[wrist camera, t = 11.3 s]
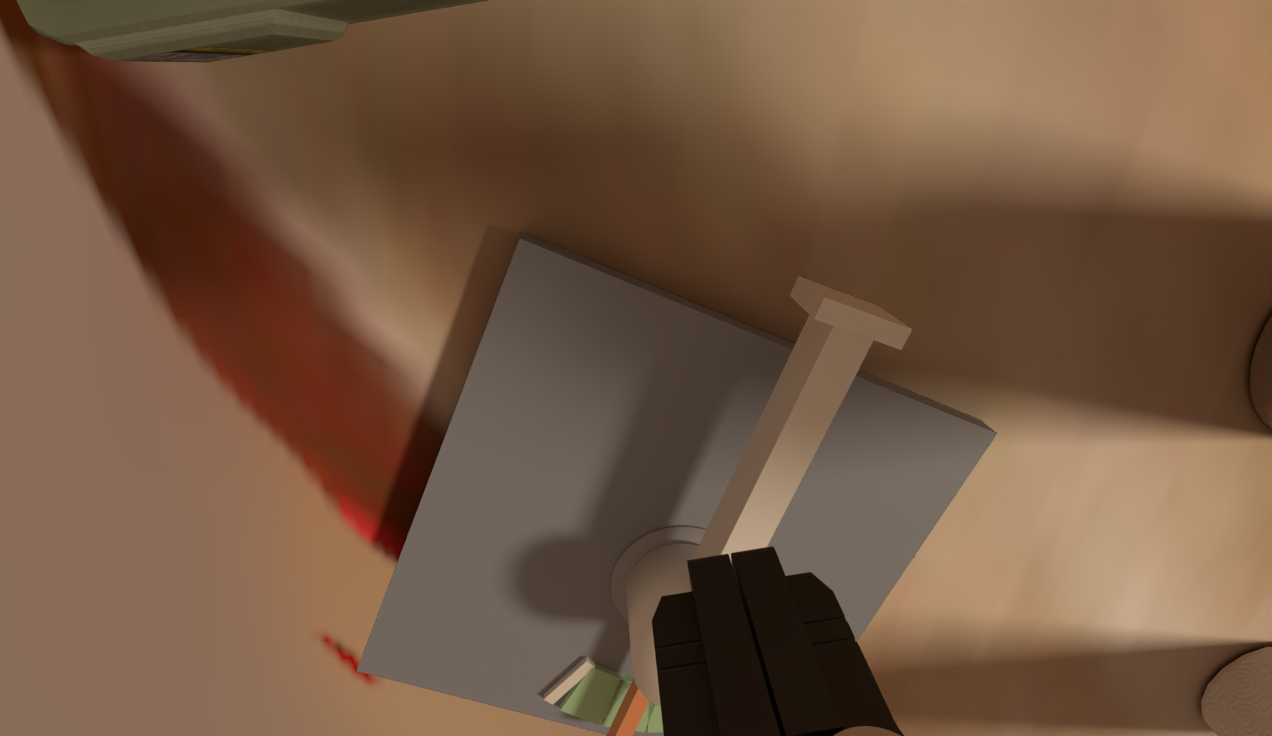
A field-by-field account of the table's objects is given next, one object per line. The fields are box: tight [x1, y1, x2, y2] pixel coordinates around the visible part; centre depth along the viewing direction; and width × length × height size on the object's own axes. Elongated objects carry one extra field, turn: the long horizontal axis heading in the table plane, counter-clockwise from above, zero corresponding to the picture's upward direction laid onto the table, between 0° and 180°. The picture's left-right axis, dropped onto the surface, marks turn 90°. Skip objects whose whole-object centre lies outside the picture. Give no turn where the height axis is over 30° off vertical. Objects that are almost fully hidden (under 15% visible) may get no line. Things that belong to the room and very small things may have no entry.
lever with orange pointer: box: [606, 276, 912, 736], centre depth 25 cm, size 22×4×4 cm, turn 159°
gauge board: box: [357, 232, 997, 736], centre depth 29 cm, size 20×20×2 cm
